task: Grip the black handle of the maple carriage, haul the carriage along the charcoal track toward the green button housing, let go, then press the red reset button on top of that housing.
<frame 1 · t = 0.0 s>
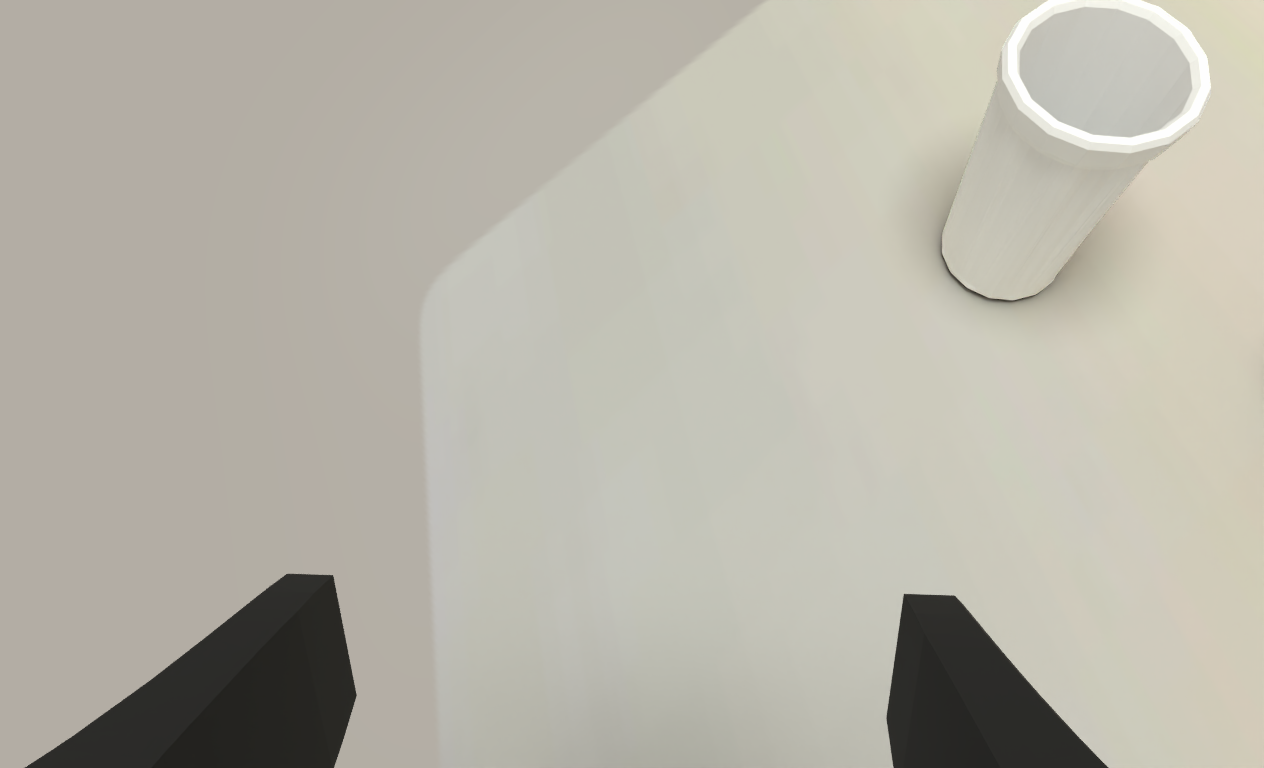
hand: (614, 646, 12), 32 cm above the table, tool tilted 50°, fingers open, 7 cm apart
cup: (997, 254, 50), on the table
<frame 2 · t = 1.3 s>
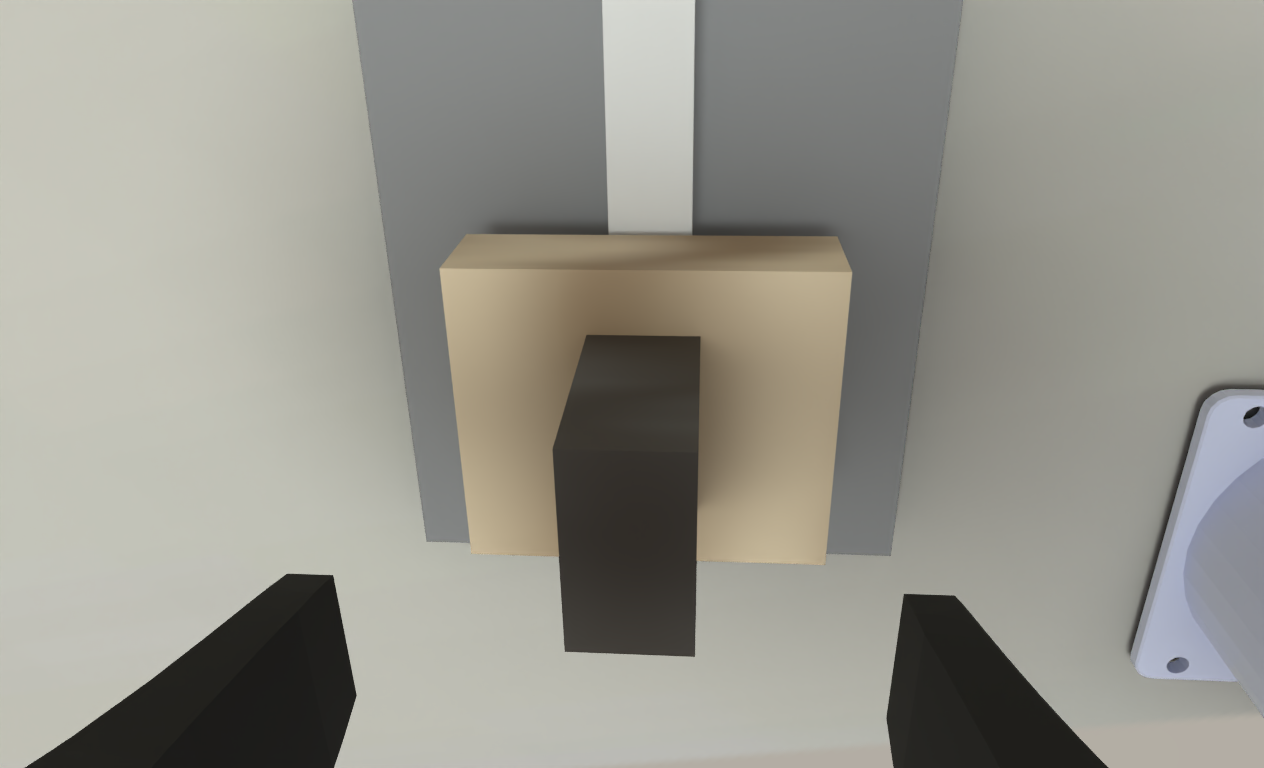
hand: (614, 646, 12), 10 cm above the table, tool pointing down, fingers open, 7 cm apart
carriage: (640, 453, 16), point 5 cm above the table, slide at 0.0 cm
track: (655, 155, 19), on the table
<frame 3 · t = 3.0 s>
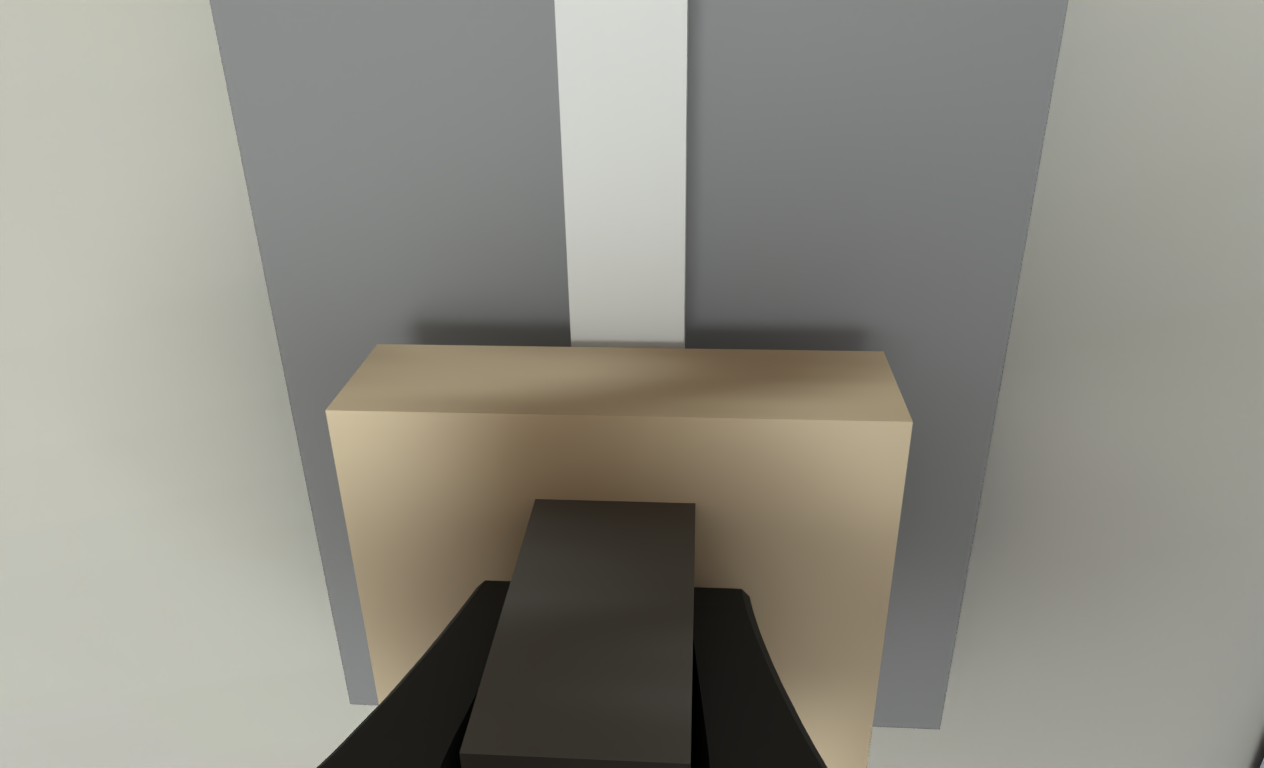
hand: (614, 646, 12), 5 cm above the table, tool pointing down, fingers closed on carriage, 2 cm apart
carriage: (611, 668, 11), point 5 cm above the table, slide at 0.0 cm, touching gripper
track: (635, 228, 14), on the table
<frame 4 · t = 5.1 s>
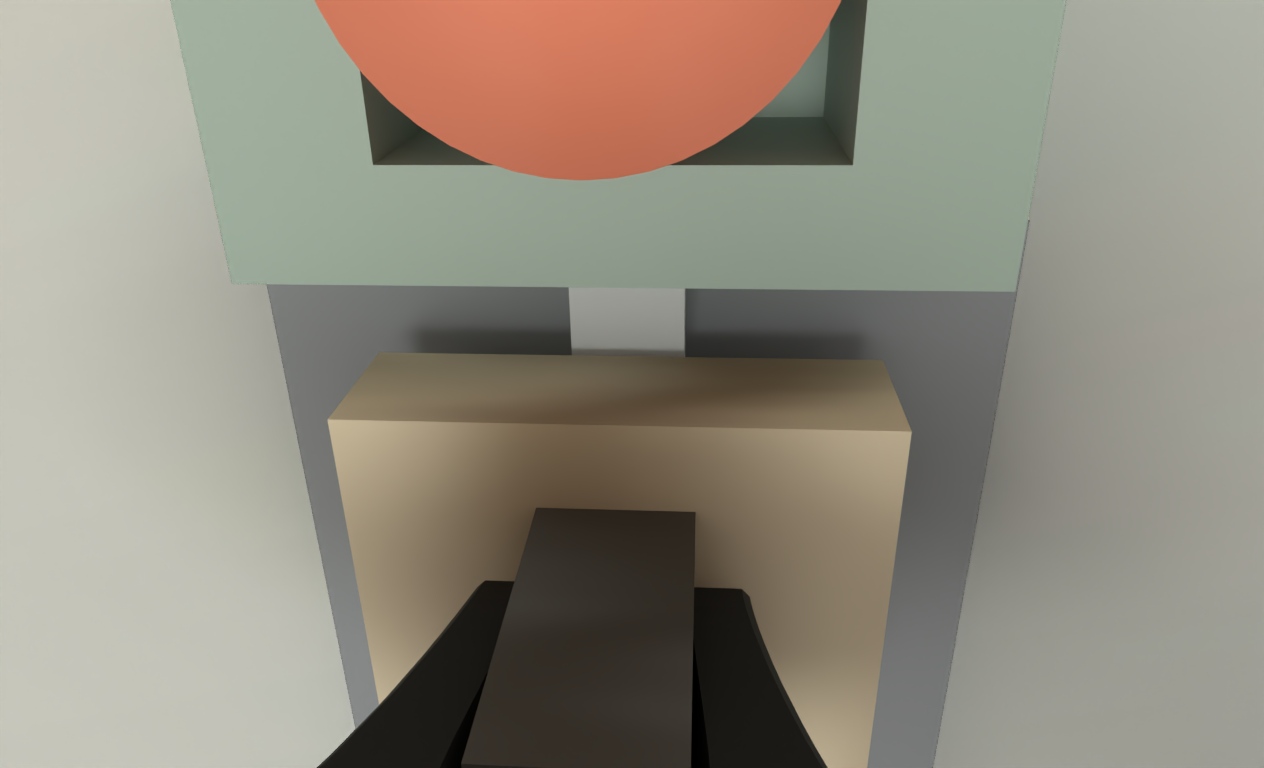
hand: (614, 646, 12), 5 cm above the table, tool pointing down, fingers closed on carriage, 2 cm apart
carriage: (611, 676, 12), point 5 cm above the table, slide at 8.4 cm, touching gripper
track: (642, 650, 18), on the table
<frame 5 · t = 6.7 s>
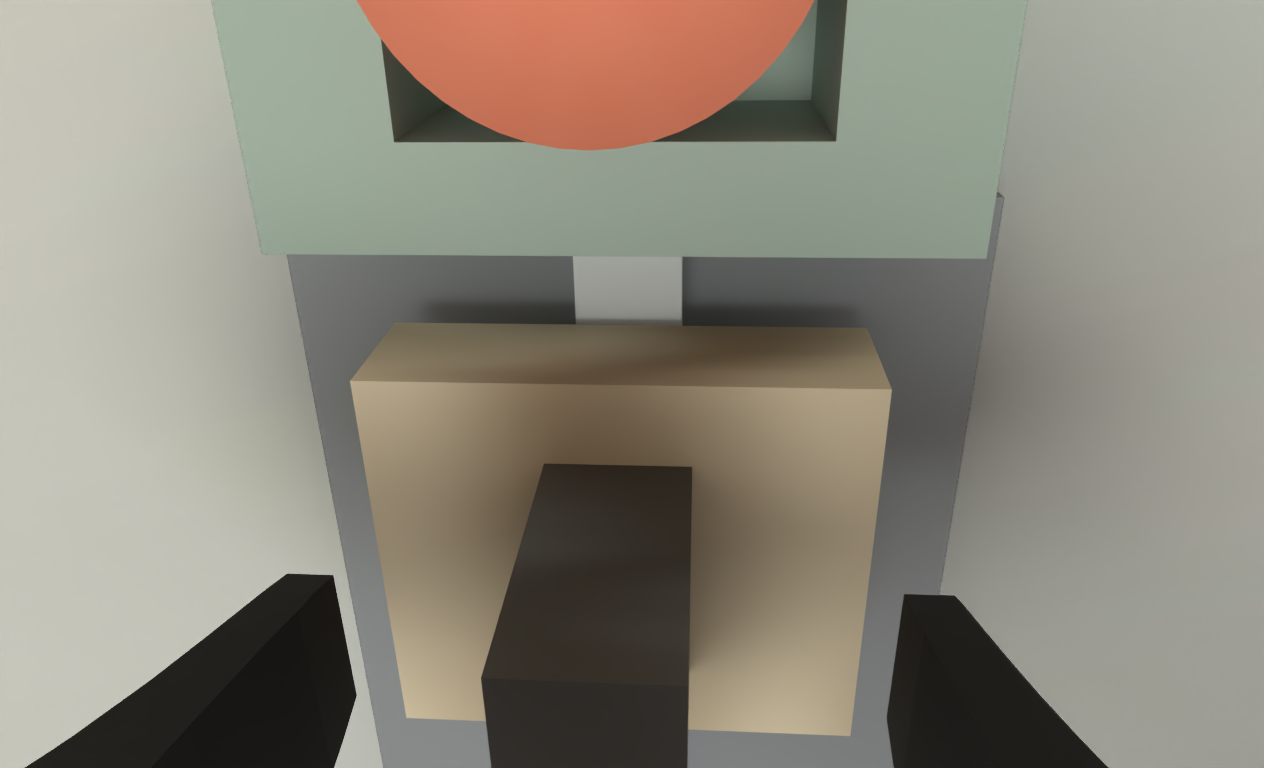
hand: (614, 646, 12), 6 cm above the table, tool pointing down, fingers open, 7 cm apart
carriage: (614, 619, 12), point 5 cm above the table, slide at 8.4 cm
track: (641, 613, 19), on the table
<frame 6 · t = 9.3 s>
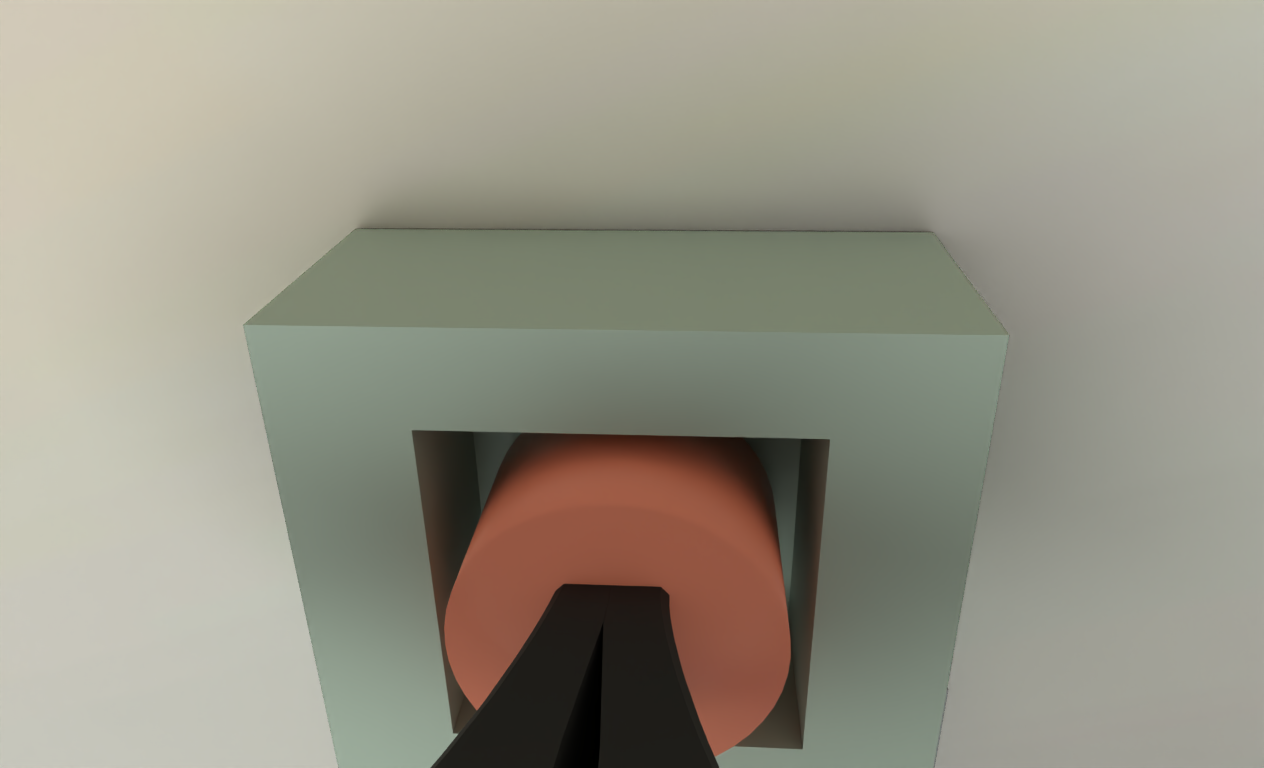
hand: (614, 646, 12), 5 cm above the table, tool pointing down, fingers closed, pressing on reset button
reset button: (625, 576, 13), point 3 cm above the table, slide at 1.3 cm, touching gripper
green button housing: (640, 453, 16), on the table
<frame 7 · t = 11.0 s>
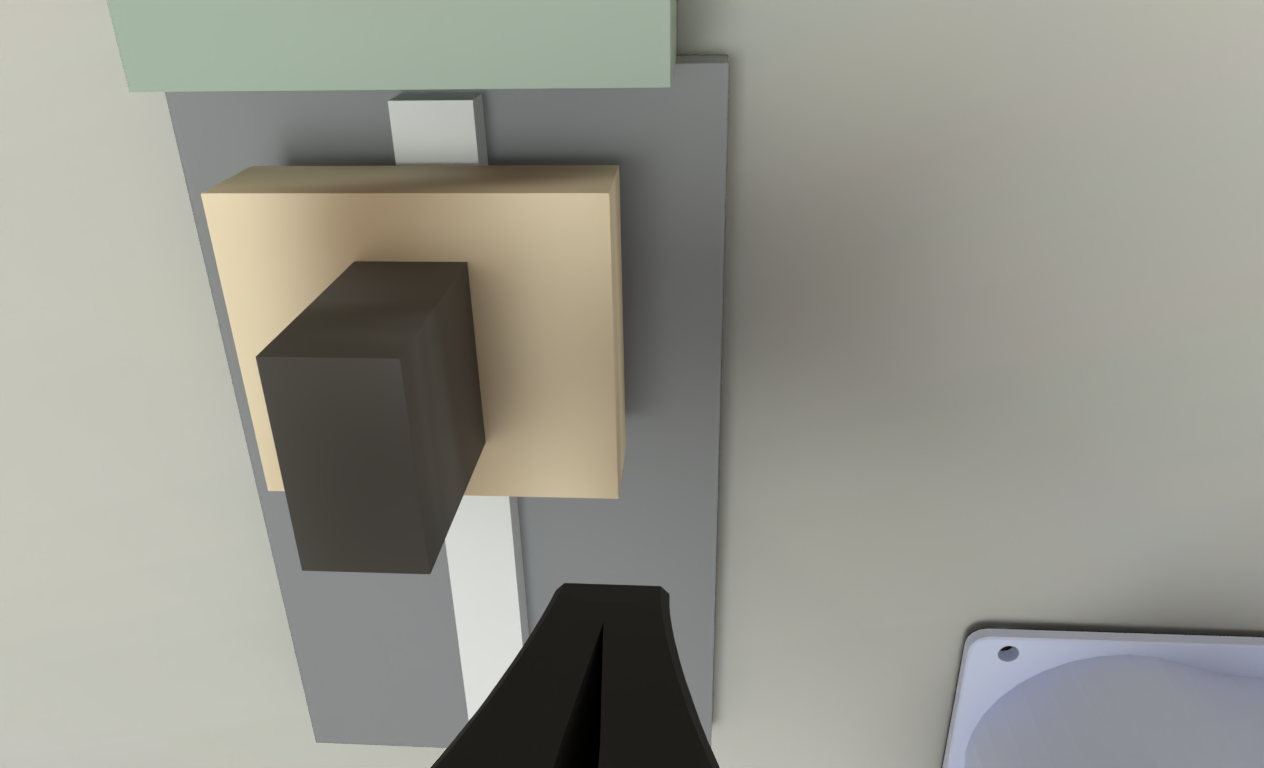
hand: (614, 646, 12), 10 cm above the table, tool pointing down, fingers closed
carriage: (407, 379, 16), point 5 cm above the table, slide at 8.4 cm
track: (491, 445, 23), on the table
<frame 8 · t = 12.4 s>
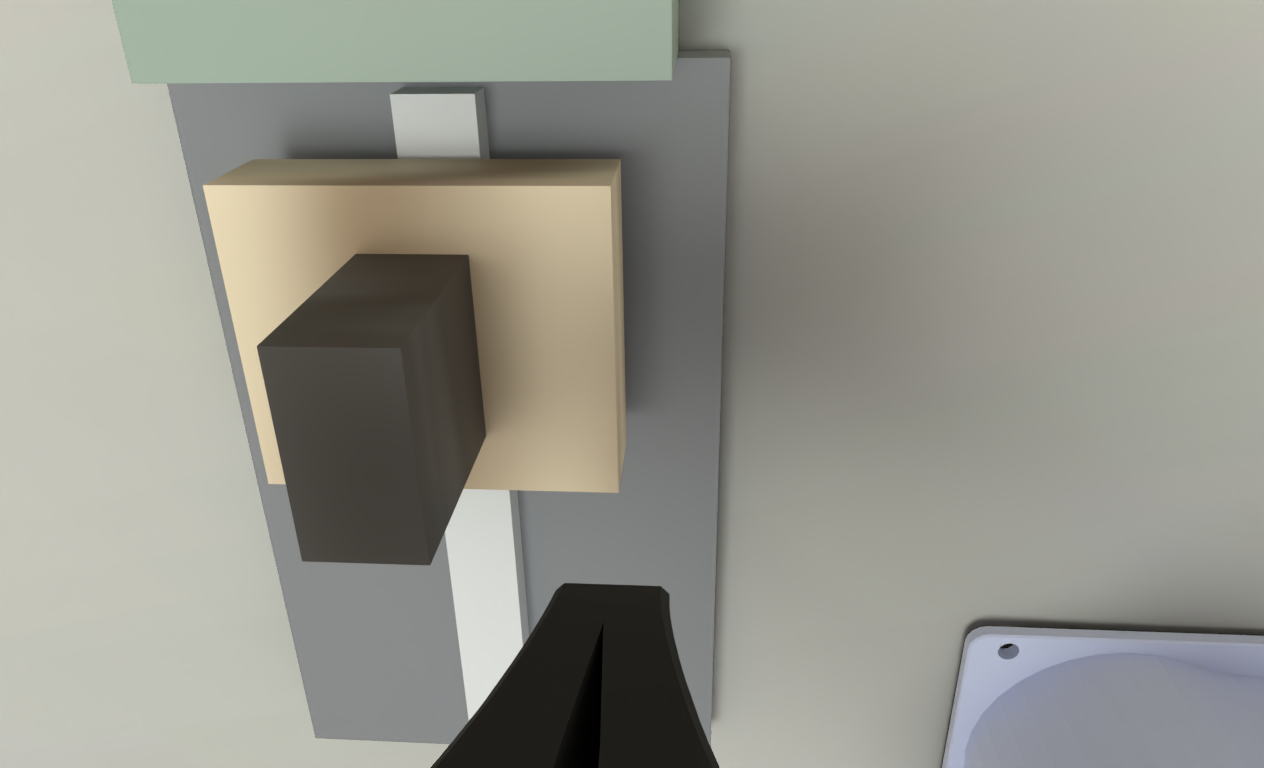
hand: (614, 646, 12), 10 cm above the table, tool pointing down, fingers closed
carriage: (407, 372, 16), point 5 cm above the table, slide at 8.4 cm
track: (492, 440, 23), on the table
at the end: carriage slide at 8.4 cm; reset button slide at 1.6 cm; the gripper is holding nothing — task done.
